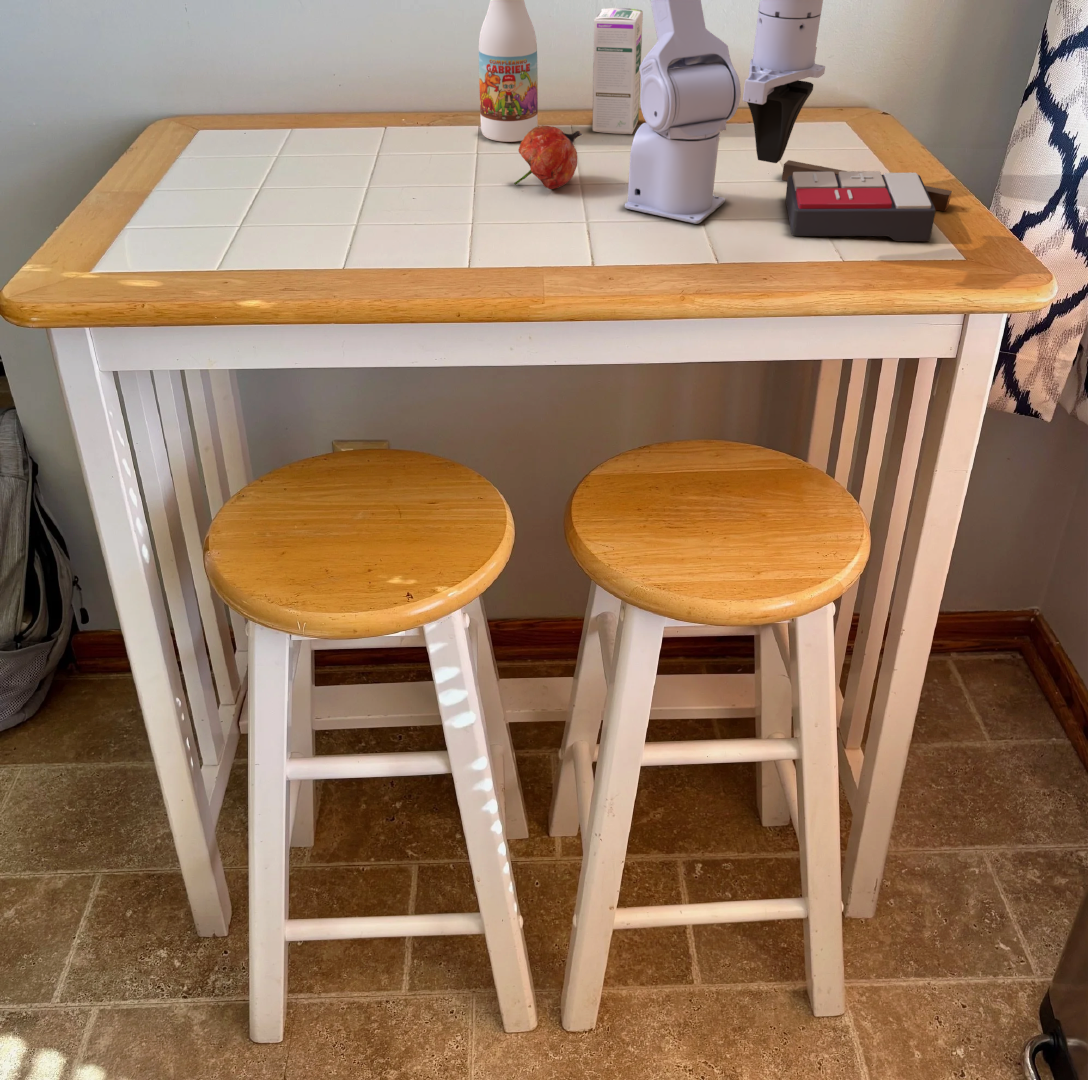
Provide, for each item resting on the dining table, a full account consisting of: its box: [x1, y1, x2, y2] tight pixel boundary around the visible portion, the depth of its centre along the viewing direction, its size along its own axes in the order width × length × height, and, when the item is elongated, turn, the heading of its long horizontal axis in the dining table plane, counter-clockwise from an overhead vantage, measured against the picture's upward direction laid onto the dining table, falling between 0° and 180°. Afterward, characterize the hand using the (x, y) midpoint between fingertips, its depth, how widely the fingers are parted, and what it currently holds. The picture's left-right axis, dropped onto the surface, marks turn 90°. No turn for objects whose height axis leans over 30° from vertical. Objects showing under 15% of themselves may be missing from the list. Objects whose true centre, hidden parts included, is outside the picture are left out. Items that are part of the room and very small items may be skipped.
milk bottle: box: [478, 0, 539, 143], centre depth 136 cm, size 8×8×20 cm
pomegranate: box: [513, 124, 583, 190], centre depth 125 cm, size 7×7×10 cm
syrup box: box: [591, 7, 644, 135], centre depth 140 cm, size 6×6×14 cm
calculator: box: [785, 170, 937, 242], centre depth 118 cm, size 11×4×15 cm
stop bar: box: [781, 159, 953, 212], centre depth 125 cm, size 20×2×2 cm, turn 60°
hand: (769, 159), depth 105 cm, fingers closed
